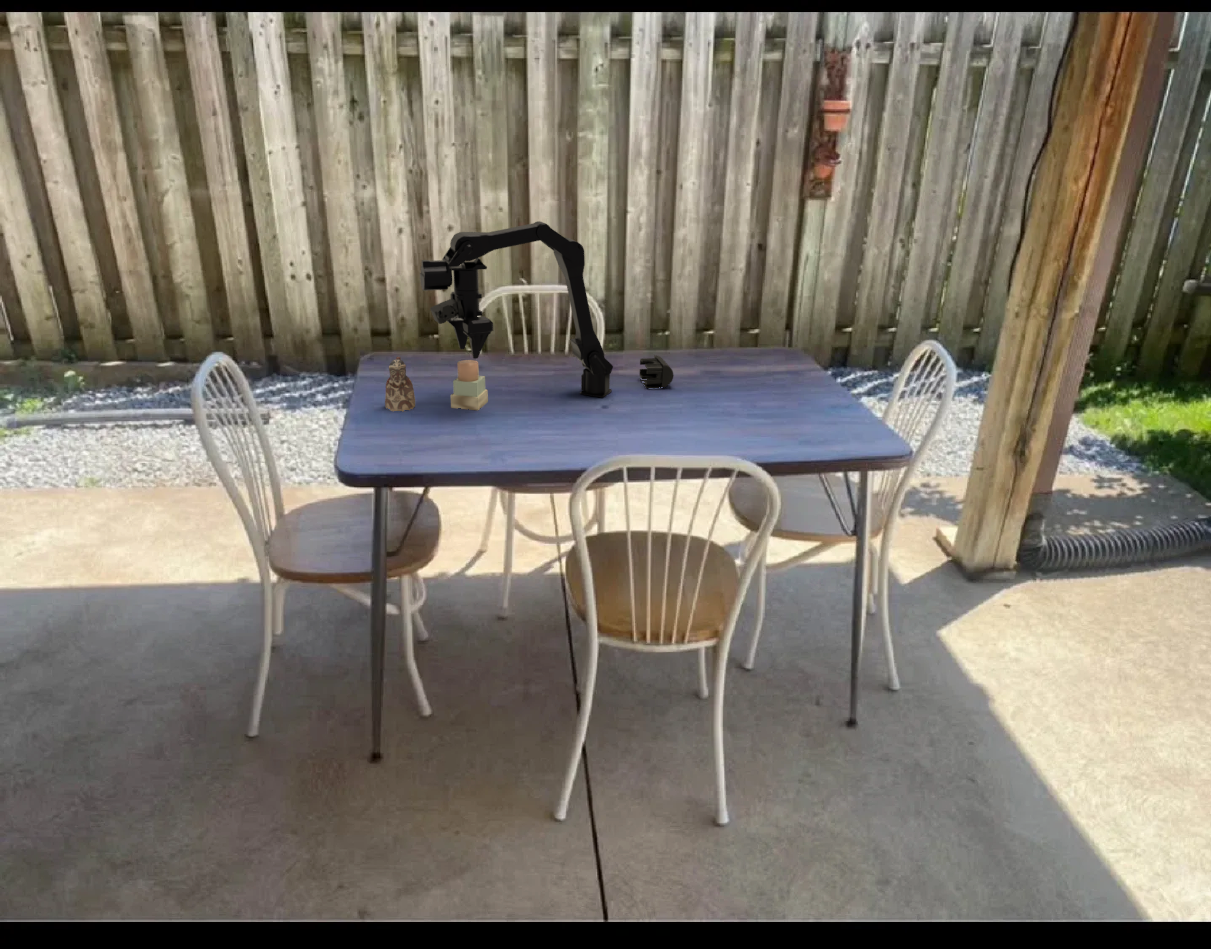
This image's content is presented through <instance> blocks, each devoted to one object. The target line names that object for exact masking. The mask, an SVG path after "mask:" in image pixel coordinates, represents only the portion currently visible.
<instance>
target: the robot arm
mask: <svg viewBox="0 0 1211 949" xmlns="http://www.w3.org/2000/svg"><path fill="white" fill-rule="evenodd" d="M539 241H540V242H542V244H544V245H545V246H547V247H548V248H549V249H551V250H552V251H553V254H554V257H555V260H556V262H557V265H558V267H559V269H560V270H561V272H562V274H563V277H564V279H565V284H566V289H567V293H568V298H569V305H570V308H571V313H572V318H573V321H574V322H573V323H574V328H575V337H574V338H571V339H570V340H569V342H570V344H571V347H572V355H573V356H574V357H576V359H577V360H578V361H579V362H581V365H582V367H584V369H582V374H581V380H580V390H581V391H580V392H579V394H580V395H583V396H590V397H594V398H595V397H596V398H604V397H606V396H607V395H609V394H610V393H612V391H613V389H612V388H610V386H611V385H610V382H611V380H610V379H611V374H612V371H613V369H614V365H613V364H612V363H611V362H610V361H609V360H607V358H606V357H605V351H604V349H603V346H602V344H601V341H600V340H599V338H598V336H597V334H596V332H595V330H594V326H593V321H592V320H593V319H592V315H591V311H590V310H591V309H590V306H589V300H588V295H587V289H586V285H585V284H586V283H585V280H584V270H585V265H586V263H585V262H586V260H585V259H586V258H585V249H584V247H583V245H582V244H581V243H579V241H576V240H574V239H572V238H569V237H564V236H563V235H562V234H561V233H558V232H557V231H556V230H554V229H553V228H552V227H551V226H550V225H549V224H548V223H545V222H543V221H541V220H539V221H535V222H533V223H528V224H524V225H518V226H514V227H509V228H503V229H499V230H498V229H497V230H494V231H489V232H488V231H487V232H484V231H483V232H481V231H460V232H457V233H455V234H454V235H453V237H452V238H451V239H450V246H449V248H448V249H447V251H446V252H445V254H444V256H443V257H442V259H440V260H429V259H422V260H421V263H420V264H421V265H420V272H419V279H420V280H419V281H420V287H421V289H422V291H423V292H425V291H428V292H429V291H445V290H446V291H448V289H449V287H451V286H452V285H453V291H451V293H450V299H447V300H443V301H441V302H440V303H438V304H436V305H433V306H431V307H429V310H430V313H431V315H432V316H433V317H432V318H433V319H434V322H436V323H437V324H440V325H442V324H444V323H446V322H447V323H448V324H449V325H451V326H452V328H453V332H454V334H455V336H456V337H455V338H456V341H457V343H458V346H459V349H460V350H465V349H466V346H467V341H468V339H469V343H470V350H471V355H472V358H473V360H476V359H479V356H480V354H481V352H482V350H483V347H484V345H485V344H486V341H487V339H488V337H489V335H490V334H491V333H492V332H494V322H493V321H492V320H491V319H490V318H488V317H486V316H485V315H484V316H483V311H482V310H480V299H482V298H483V296H482V293H481V292H480V290H479V288H480V286H479V284H480V283H479V270H480V271H481V270H487V268H488V267H487V265H486V264H484V263H483V262H482V260H481V259H480V258H481V257H483V256H485V255H488V254H489V253H490V252H492V251H493V252H494V251H496V250H500V249H505V248H509V247H510V248H511V247H515V246H519V245H524V244H529V243H534V242H539Z"/></svg>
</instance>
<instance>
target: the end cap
mask: <svg viewBox="0 0 1211 949" xmlns="http://www.w3.org/2000/svg"><path fill="white" fill-rule="evenodd" d="M639 365H640V366H642V365H643V366H645V368H640V369H639V378H642V379H647V380H641V381H644V382H645V383H643V384H644V385H645V387H646V388H659V387H660V388H661V387H665V388H666V387H668V386H670V385H671V383H672V381H673V379H674V371H673V369H672V367H671V366H669V364H668V363H667V362H666V361H665V360H664V358H663V357H661V356H660V355H657V354H656V355H655V354H654V356H653V357H650V358H649V357H646V358H645V357H644V358H639ZM641 381H640V382H641ZM643 384H642V385H643ZM644 385H643V386H644ZM645 387H644V388H645ZM646 388H645V389H646Z"/></svg>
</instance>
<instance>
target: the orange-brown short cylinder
mask: <svg viewBox="0 0 1211 949" xmlns="http://www.w3.org/2000/svg"><path fill="white" fill-rule="evenodd" d="M479 373H480V372H479V362H478V361H477V360H475V359H464V360H459V361H457V378H458V380H460V381H464V382H472V381H476V380H478V379H479V376H480V375H479Z"/></svg>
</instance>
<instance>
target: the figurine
mask: <svg viewBox="0 0 1211 949" xmlns="http://www.w3.org/2000/svg"><path fill="white" fill-rule="evenodd" d="M389 363H390V364H389V366H388V370H389V377H388V378H387V380H386V383H385V397H384V406H385V409H387V408H388V409H390V410H389V411H391V412H394V411H402V412H405V411H404V410H409V411H411V410H410V409H412V410H414V409H415V408H414V407H416V397H415V389H414V384H413V383H412V380H411V379H410V377H408V375H407V368H406V367H407V364H405V362H404V361H403V360H402V358H401V356H396V358H395V359H393V360H392V361H390V362H389ZM413 408H414V409H413ZM388 409H387V410H388Z"/></svg>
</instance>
